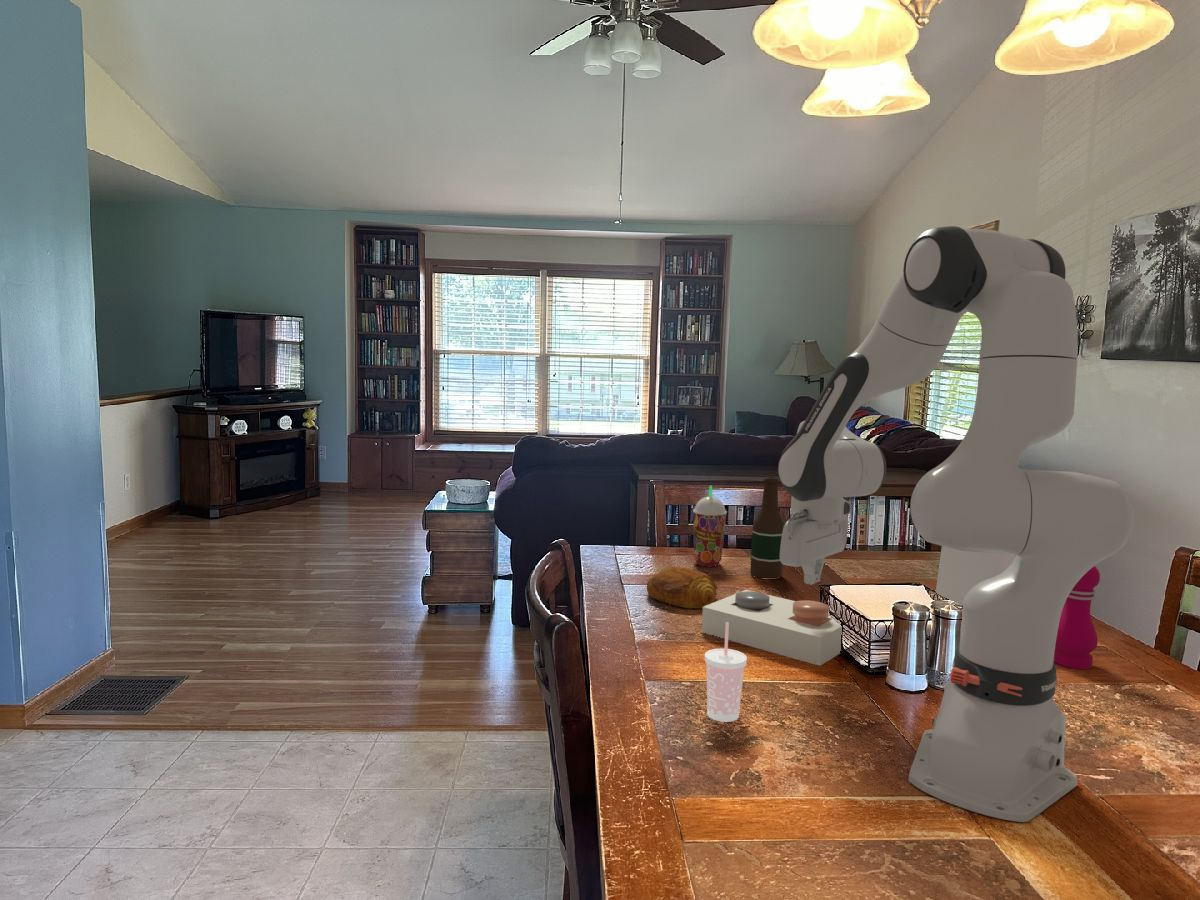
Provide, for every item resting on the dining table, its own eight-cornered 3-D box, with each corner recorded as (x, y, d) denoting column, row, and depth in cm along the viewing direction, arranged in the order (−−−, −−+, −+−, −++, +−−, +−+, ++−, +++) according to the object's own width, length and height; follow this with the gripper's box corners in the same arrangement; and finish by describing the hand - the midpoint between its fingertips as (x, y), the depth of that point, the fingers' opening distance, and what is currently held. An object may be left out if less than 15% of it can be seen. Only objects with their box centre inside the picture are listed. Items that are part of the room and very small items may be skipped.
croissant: (685, 625, 167) (690, 588, 165) (634, 596, 178) (638, 561, 176) (732, 610, 176) (737, 575, 174) (680, 583, 188) (684, 550, 186)
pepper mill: (1101, 672, 141) (1113, 558, 139) (1056, 668, 142) (1066, 555, 140) (1086, 657, 148) (1096, 548, 146) (1042, 653, 149) (1052, 546, 147)
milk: (931, 620, 167) (941, 494, 164) (952, 608, 175) (962, 488, 172) (994, 635, 159) (1005, 502, 156) (1013, 621, 167) (1024, 496, 164)
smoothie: (689, 567, 203) (693, 487, 201) (691, 559, 211) (694, 482, 209) (724, 569, 202) (727, 489, 199) (724, 561, 210) (728, 484, 208)
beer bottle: (785, 580, 193) (791, 480, 190) (752, 579, 193) (757, 479, 190) (779, 572, 201) (784, 475, 198) (747, 571, 201) (752, 474, 198)
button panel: (819, 665, 141) (821, 637, 140) (701, 632, 156) (702, 606, 155) (857, 642, 153) (859, 616, 152) (744, 613, 168) (745, 589, 167)
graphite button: (757, 637, 154) (759, 603, 153) (727, 629, 158) (729, 596, 157) (773, 629, 159) (775, 596, 158) (744, 621, 163) (746, 589, 162)
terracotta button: (817, 649, 146) (819, 613, 145) (784, 640, 150) (786, 605, 149) (832, 639, 151) (835, 605, 150) (800, 631, 155) (802, 598, 154)
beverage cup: (694, 709, 122) (698, 618, 120) (729, 703, 125) (733, 614, 123) (715, 727, 117) (720, 631, 115) (752, 720, 119) (757, 627, 117)
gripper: (806, 516, 137) (802, 597, 139) (855, 503, 153) (851, 576, 154) (772, 511, 141) (768, 590, 143) (823, 499, 157) (819, 570, 158)
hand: (812, 582), depth 149 cm, fingers closed
